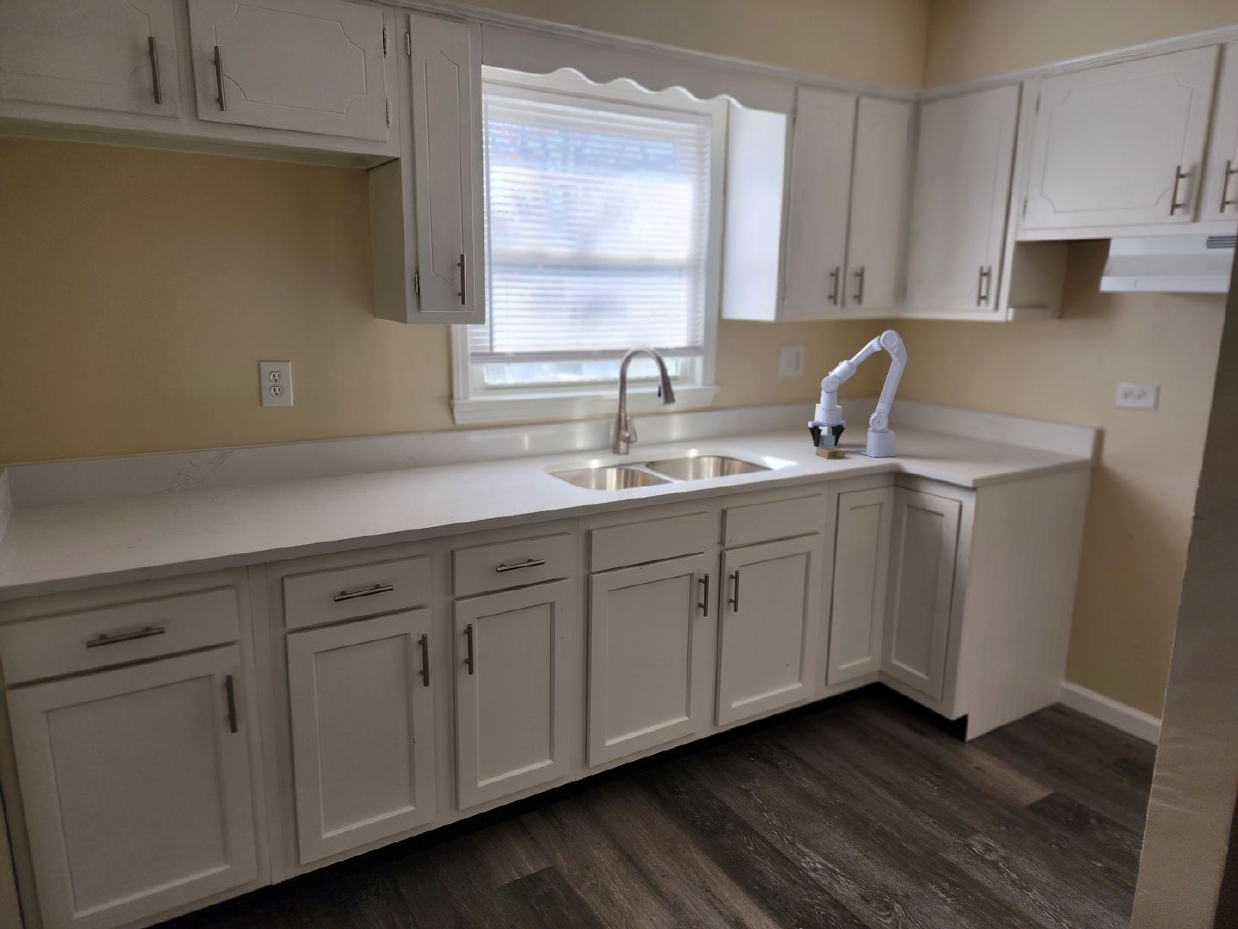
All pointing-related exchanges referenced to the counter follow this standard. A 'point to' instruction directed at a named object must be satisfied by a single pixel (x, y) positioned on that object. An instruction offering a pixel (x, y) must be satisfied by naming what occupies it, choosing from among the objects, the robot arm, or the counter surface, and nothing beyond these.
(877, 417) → the robot arm
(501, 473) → the counter surface
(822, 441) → the blue block
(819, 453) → the walnut base
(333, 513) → the counter surface
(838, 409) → the skincare box
